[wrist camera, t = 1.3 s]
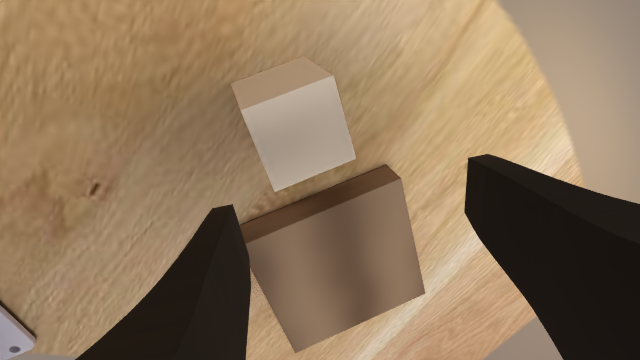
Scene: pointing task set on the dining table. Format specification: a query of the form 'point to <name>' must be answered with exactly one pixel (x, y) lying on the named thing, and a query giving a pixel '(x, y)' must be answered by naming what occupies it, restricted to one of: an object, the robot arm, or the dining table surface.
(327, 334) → the walnut plinth
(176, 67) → the dining table surface
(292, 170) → the off-white block
